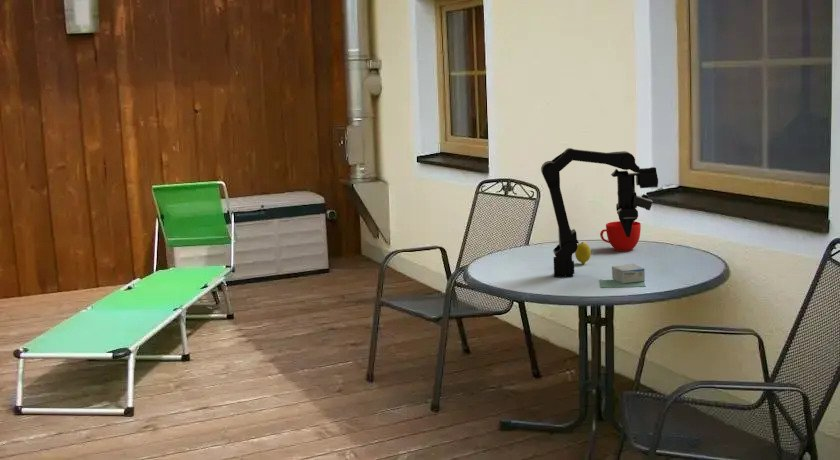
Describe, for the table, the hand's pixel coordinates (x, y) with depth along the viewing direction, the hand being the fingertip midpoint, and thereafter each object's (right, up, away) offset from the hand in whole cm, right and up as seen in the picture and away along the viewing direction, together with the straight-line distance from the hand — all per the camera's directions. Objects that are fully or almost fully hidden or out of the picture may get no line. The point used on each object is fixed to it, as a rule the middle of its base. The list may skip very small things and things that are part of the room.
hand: (627, 234), depth 327 cm
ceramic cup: (+6, -6, +40) cm, 41 cm away
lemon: (-12, -11, +20) cm, 26 cm away
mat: (-5, -16, -14) cm, 21 cm away
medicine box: (-3, -12, -7) cm, 14 cm away
